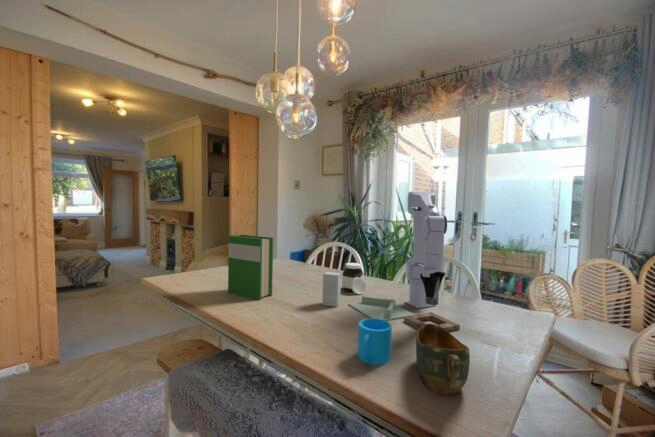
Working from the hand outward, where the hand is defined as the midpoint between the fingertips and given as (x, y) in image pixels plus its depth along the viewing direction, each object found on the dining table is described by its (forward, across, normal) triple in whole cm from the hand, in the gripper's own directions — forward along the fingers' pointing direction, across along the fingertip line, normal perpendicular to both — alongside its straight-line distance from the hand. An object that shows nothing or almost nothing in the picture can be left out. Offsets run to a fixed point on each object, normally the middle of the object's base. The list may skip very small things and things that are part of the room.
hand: (432, 295), depth 97 cm
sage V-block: (+10, -2, -19) cm, 22 cm away
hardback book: (+10, +16, -70) cm, 72 cm away
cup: (+10, +30, +11) cm, 33 cm away
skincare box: (+10, +4, -36) cm, 38 cm away
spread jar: (+10, -18, -39) cm, 44 cm away
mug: (+10, +32, -5) cm, 33 cm away
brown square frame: (+10, 0, 0) cm, 10 cm away
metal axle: (+2, 0, 0) cm, 2 cm away
